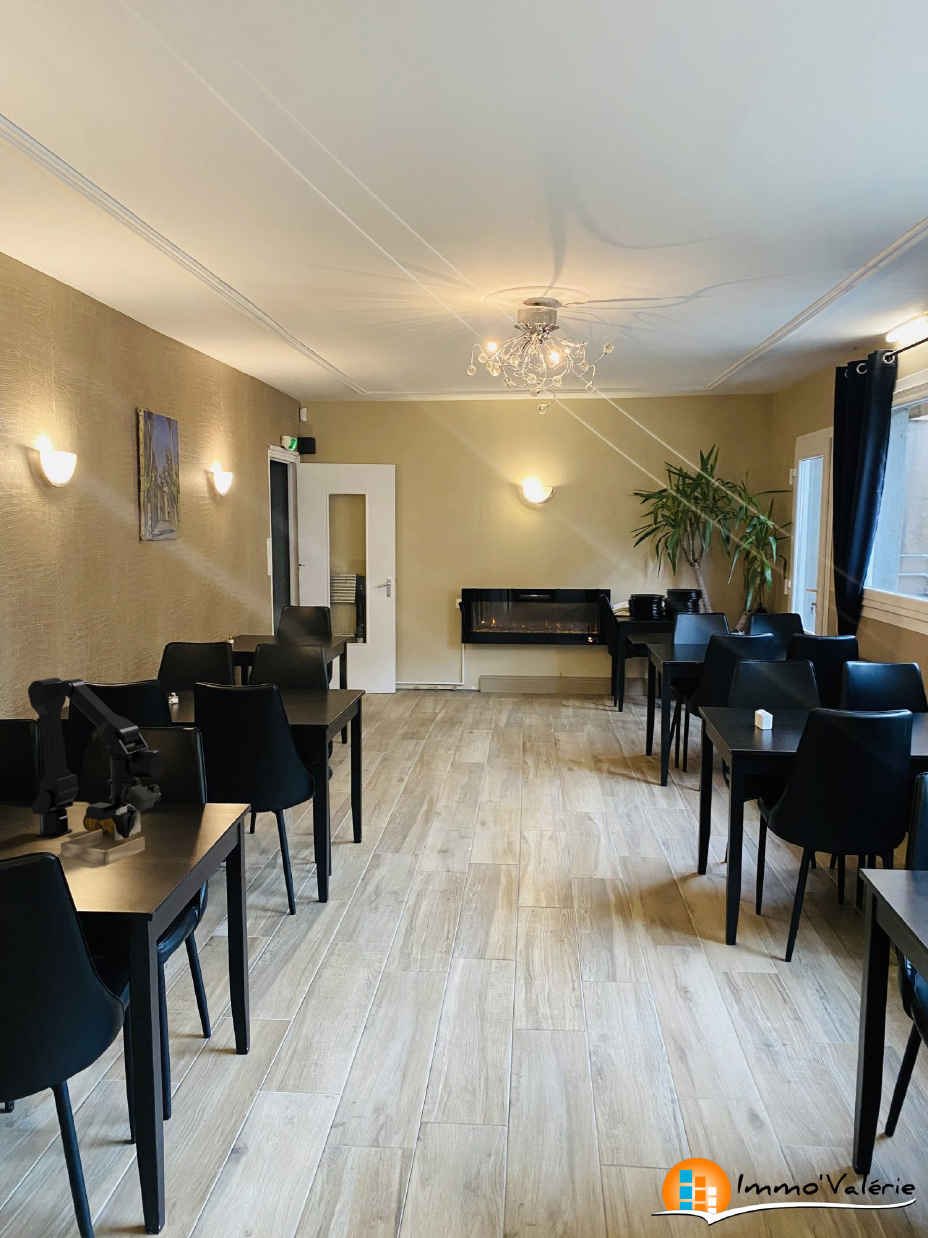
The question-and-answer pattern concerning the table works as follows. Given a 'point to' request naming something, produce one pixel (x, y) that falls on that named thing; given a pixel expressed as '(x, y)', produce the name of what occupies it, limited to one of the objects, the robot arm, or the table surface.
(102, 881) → the table surface
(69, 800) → the robot arm
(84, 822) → the condiment
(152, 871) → the table surface
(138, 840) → the wooden bracket
